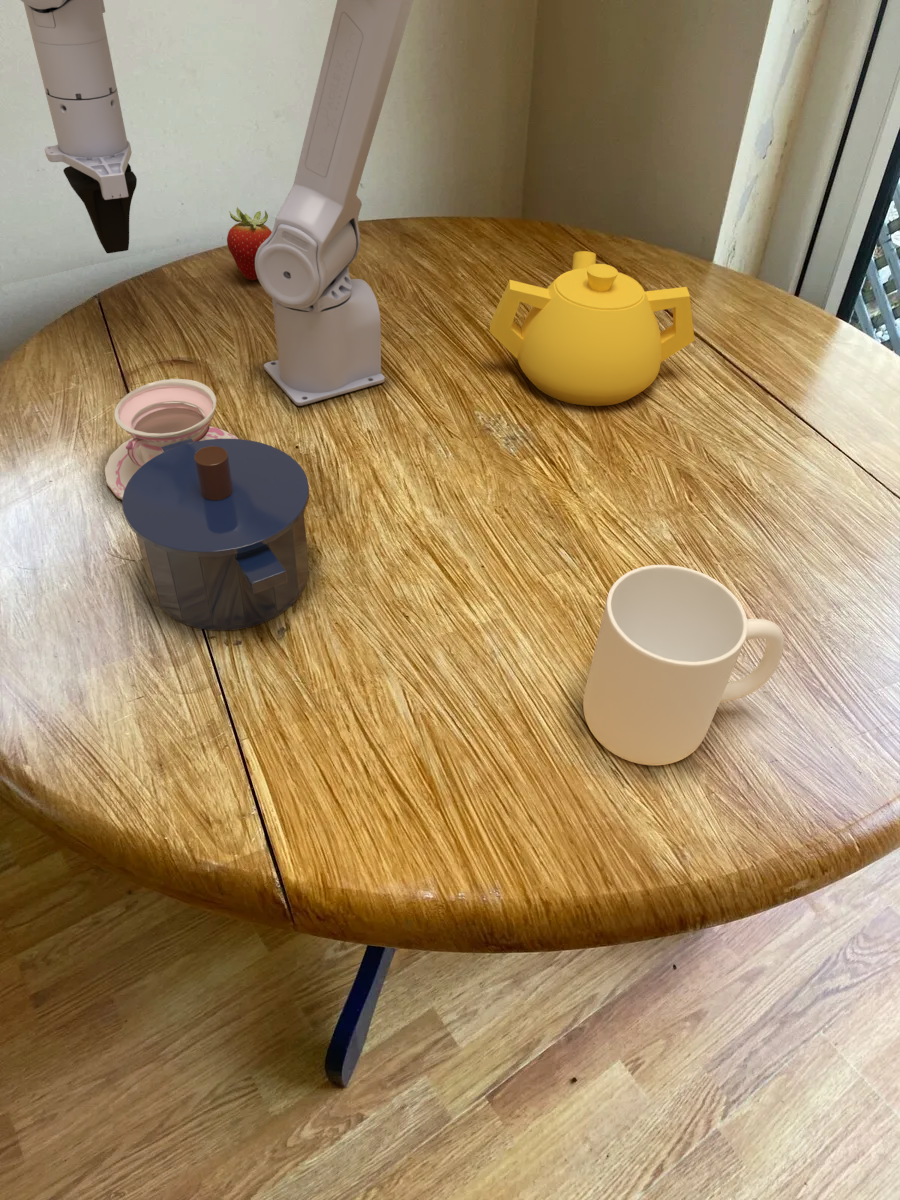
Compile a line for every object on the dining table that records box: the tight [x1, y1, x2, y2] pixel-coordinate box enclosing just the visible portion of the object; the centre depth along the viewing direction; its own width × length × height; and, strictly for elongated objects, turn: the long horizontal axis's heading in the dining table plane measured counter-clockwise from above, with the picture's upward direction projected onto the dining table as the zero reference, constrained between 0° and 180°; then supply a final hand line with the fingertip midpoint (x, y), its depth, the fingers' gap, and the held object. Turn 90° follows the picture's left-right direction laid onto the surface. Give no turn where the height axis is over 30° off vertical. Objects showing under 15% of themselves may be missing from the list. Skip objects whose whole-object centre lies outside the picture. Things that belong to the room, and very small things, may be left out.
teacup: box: [104, 378, 239, 501], centre depth 75 cm, size 12×12×6 cm
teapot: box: [489, 250, 696, 407], centre depth 89 cm, size 20×18×11 cm
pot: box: [135, 439, 310, 632], centre depth 66 cm, size 12×17×8 cm
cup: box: [582, 564, 785, 766], centre depth 57 cm, size 8×12×10 cm
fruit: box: [226, 207, 273, 281], centre depth 100 cm, size 5×5×8 cm
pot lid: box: [121, 438, 310, 557], centre depth 62 cm, size 13×13×4 cm
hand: (116, 249), depth 85 cm, fingers closed
